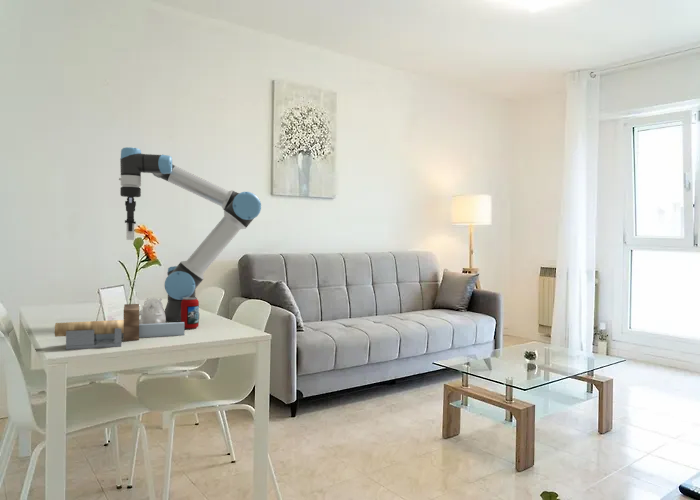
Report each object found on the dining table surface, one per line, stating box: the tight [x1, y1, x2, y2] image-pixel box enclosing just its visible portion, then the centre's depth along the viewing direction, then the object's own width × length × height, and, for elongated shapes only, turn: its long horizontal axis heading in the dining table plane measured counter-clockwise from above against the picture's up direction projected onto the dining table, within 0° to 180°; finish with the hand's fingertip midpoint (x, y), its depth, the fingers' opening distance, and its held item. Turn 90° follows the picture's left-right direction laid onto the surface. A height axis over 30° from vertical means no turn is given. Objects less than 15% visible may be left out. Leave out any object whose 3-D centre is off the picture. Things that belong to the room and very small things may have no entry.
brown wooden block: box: [122, 303, 140, 342], centre depth 186 cm, size 5×17×11 cm, turn 23°
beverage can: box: [180, 296, 200, 330], centre depth 204 cm, size 7×7×12 cm
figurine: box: [139, 297, 167, 324], centre depth 201 cm, size 10×10×12 cm
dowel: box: [54, 319, 124, 338], centre depth 169 cm, size 20×4×4 cm, turn 113°
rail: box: [96, 321, 185, 340], centre depth 185 cm, size 30×2×4 cm, turn 113°
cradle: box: [65, 328, 123, 351], centre depth 170 cm, size 16×9×6 cm, turn 113°
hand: (130, 239), depth 207 cm, fingers open, 13 cm apart
